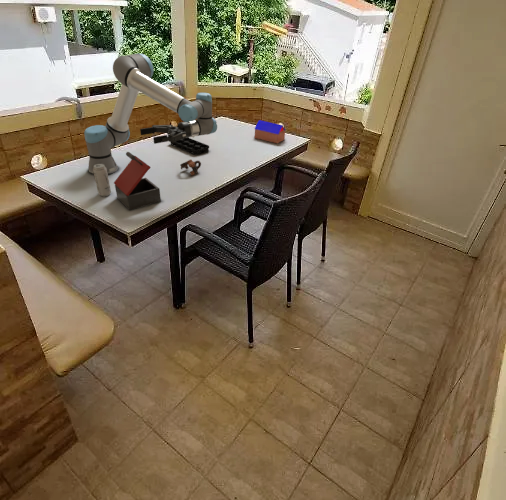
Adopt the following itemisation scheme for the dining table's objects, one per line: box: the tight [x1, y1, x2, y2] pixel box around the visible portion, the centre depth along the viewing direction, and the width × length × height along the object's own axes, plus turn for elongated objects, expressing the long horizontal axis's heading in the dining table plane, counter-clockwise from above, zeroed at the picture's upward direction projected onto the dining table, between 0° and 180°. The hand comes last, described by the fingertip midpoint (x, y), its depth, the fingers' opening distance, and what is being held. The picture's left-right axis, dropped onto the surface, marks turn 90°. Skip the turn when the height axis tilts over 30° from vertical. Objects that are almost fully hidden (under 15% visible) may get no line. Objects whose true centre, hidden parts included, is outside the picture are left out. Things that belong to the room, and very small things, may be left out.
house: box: [254, 119, 287, 144], centre depth 256 cm, size 12×20×12 cm, turn 58°
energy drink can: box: [93, 164, 112, 197], centre depth 170 cm, size 6×6×15 cm
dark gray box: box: [114, 177, 162, 211], centre depth 170 cm, size 16×15×7 cm
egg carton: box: [170, 137, 210, 156], centre depth 234 cm, size 18×30×4 cm, turn 60°
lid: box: [113, 151, 151, 196], centre depth 160 cm, size 17×15×8 cm
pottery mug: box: [180, 159, 202, 176], centre depth 201 cm, size 12×10×8 cm
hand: (147, 136), depth 159 cm, fingers open, 13 cm apart
